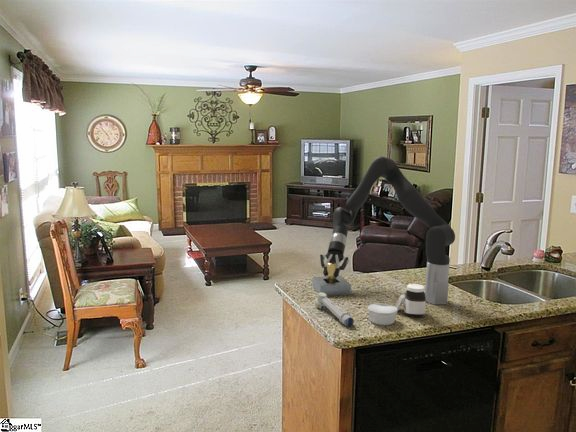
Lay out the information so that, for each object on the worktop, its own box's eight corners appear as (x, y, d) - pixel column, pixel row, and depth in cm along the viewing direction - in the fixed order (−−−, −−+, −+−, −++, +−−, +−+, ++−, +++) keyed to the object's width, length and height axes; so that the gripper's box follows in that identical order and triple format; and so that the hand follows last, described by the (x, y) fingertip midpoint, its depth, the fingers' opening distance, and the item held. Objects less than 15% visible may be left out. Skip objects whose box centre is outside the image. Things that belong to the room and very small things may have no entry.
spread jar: (426, 319, 188) (428, 290, 186) (397, 318, 188) (399, 289, 186) (419, 308, 199) (421, 281, 197) (392, 307, 200) (393, 280, 198)
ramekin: (394, 316, 190) (395, 303, 189) (398, 327, 179) (399, 314, 178) (366, 315, 191) (366, 302, 190) (368, 325, 180) (368, 312, 179)
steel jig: (350, 294, 216) (350, 284, 215) (320, 295, 213) (320, 285, 212) (341, 284, 229) (341, 275, 228) (312, 286, 226) (312, 276, 226)
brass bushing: (337, 284, 219) (337, 264, 217) (327, 285, 218) (328, 264, 216) (334, 281, 223) (335, 261, 222) (325, 282, 222) (325, 262, 221)
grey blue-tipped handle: (344, 318, 177) (313, 289, 199) (342, 334, 179) (312, 304, 201) (356, 316, 179) (324, 288, 201) (354, 332, 181) (323, 302, 203)
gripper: (321, 238, 227) (313, 270, 217) (351, 241, 222) (344, 273, 213) (324, 247, 232) (316, 278, 223) (353, 250, 228) (346, 281, 219)
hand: (330, 275), depth 218 cm, fingers closed on brass bushing, 4 cm apart
